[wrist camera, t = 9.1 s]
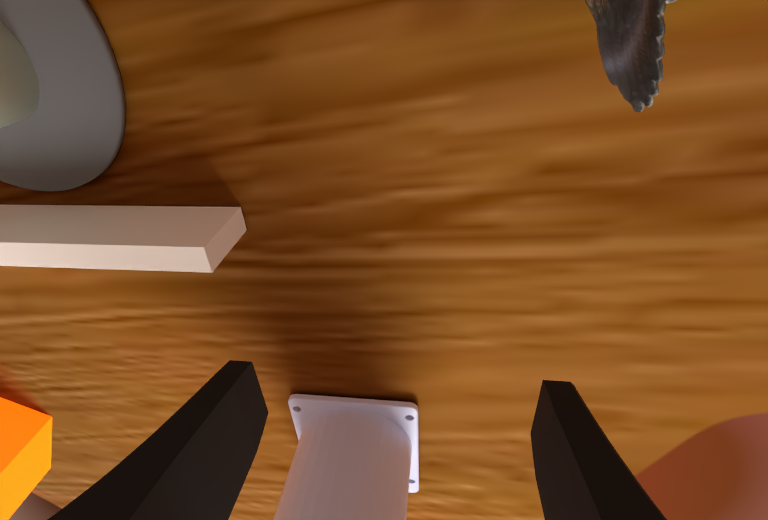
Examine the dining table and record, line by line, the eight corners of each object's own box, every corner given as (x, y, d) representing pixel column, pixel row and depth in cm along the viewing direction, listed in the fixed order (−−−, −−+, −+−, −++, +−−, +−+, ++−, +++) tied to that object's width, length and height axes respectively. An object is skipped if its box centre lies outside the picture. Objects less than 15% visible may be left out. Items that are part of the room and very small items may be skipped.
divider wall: (246, 229, 20) (212, 272, 17) (-75, 224, 22) (-153, 260, 19) (240, 206, 19) (203, 247, 16) (-90, 203, 22) (-173, 238, 19)
